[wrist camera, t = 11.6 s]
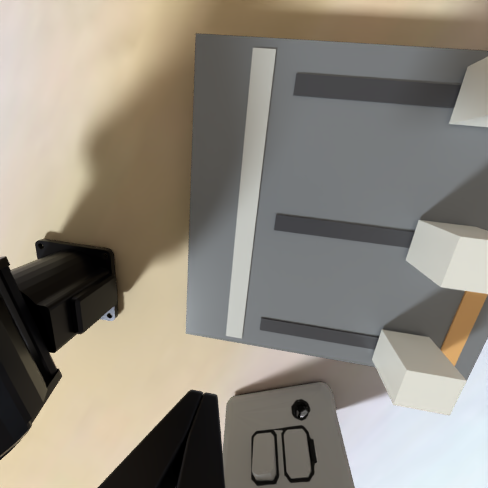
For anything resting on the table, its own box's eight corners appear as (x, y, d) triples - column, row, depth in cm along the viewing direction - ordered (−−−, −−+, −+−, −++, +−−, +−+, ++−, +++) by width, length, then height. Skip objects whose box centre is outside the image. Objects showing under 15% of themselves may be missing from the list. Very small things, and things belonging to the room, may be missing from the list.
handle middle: (405, 260, 15) (440, 287, 12) (418, 219, 14) (460, 236, 11) (458, 267, 15) (509, 297, 12) (475, 226, 14) (534, 246, 11)
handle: (372, 359, 18) (393, 404, 14) (381, 329, 17) (406, 370, 13) (417, 367, 17) (449, 415, 14) (429, 337, 16) (466, 380, 13)
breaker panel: (194, 318, 21) (185, 334, 19) (206, 49, 15) (195, 32, 13) (447, 361, 19) (466, 384, 17) (576, 73, 13) (627, 58, 11)
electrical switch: (328, 376, 21) (366, 537, 13) (341, 416, 23) (382, 581, 14) (226, 393, 23) (200, 540, 15) (246, 428, 25) (232, 578, 17)
